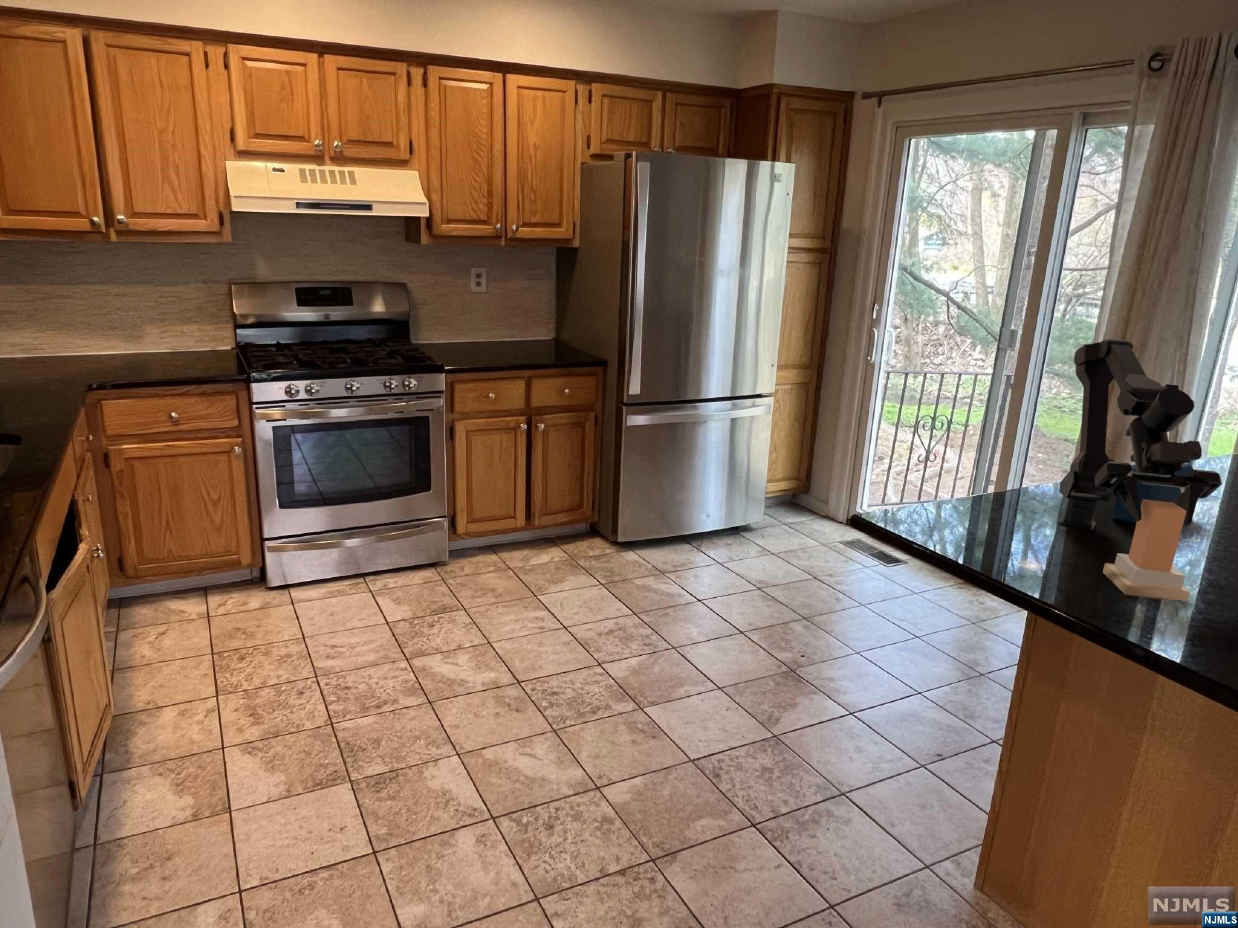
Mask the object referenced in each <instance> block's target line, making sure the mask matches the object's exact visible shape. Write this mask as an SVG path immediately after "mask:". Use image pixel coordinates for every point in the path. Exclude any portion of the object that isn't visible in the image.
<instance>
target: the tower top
mask: <svg viewBox="0 0 1238 928" xmlns="http://www.w3.org/2000/svg"><path fill="white" fill-rule="evenodd" d="M1128 556H1129V553H1128V554H1126V553H1120V552H1118V553H1117V554H1116V557H1115V562H1114V564H1115V565H1114V566H1115V567H1116V568H1117V569H1118V570H1119V571H1120V572H1121V573H1122V574H1123V575H1124V576H1125V577H1126V578H1127V579H1129V580H1130V581H1131V582H1132V583H1134V584H1143V585H1152V586H1160V587H1169V588H1178V589H1182V587H1184V583H1185V579H1186V575H1185V574H1184V573H1182V571H1181V570H1179V569H1178V568H1177V567H1176V566H1174V565H1173V564H1172V568H1171V571H1166V570H1158V569H1150V568H1142V567H1139V566H1138V565H1137V564H1136V563H1134V562H1133V561H1132V560H1131V559H1130V558H1129V557H1128Z"/></svg>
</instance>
